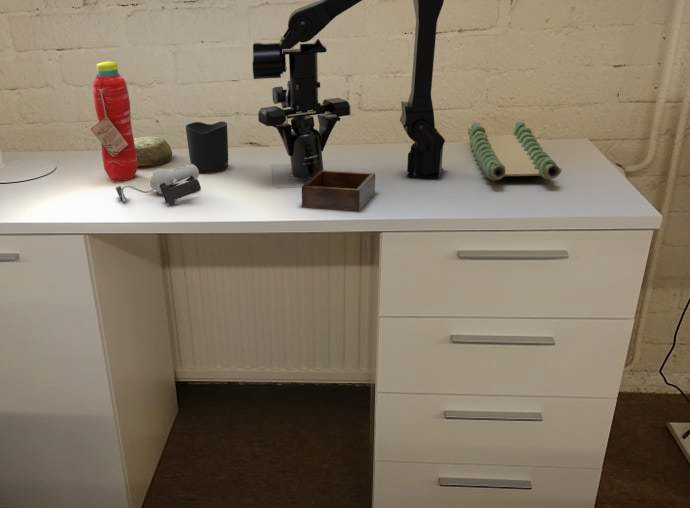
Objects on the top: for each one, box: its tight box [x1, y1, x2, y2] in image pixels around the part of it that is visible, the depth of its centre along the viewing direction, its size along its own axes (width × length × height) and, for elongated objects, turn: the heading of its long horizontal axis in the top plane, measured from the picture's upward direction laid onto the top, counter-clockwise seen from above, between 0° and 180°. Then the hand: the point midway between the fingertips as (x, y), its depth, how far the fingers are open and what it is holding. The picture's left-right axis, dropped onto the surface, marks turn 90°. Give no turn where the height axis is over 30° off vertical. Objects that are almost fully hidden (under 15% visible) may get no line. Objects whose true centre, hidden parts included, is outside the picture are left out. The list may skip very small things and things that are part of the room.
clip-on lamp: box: [115, 163, 202, 206], centre depth 161 cm, size 12×6×18 cm
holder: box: [301, 169, 376, 212], centre depth 154 cm, size 12×12×4 cm
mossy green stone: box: [133, 136, 173, 167], centre depth 188 cm, size 14×13×5 cm
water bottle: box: [90, 61, 139, 182], centre depth 171 cm, size 12×8×25 cm, turn 164°
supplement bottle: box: [289, 115, 324, 180], centre depth 165 cm, size 7×7×12 cm
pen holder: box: [185, 120, 229, 174], centre depth 178 cm, size 9×9×10 cm
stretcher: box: [467, 120, 563, 182], centre depth 170 cm, size 41×14×5 cm, turn 173°
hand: (305, 153), depth 166 cm, fingers closed on supplement bottle, 7 cm apart
